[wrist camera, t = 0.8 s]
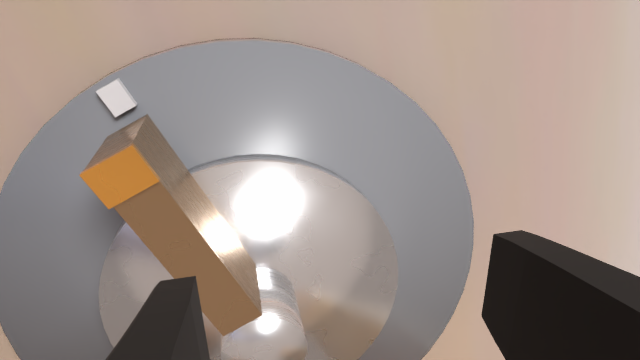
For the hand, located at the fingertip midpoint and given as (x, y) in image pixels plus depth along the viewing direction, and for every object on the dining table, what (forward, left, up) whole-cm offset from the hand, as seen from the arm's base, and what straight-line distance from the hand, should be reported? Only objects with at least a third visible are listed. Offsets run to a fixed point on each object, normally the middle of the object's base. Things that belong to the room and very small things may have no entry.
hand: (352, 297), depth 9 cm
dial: (-4, -4, -9) cm, 11 cm away
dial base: (-4, -5, -10) cm, 12 cm away
